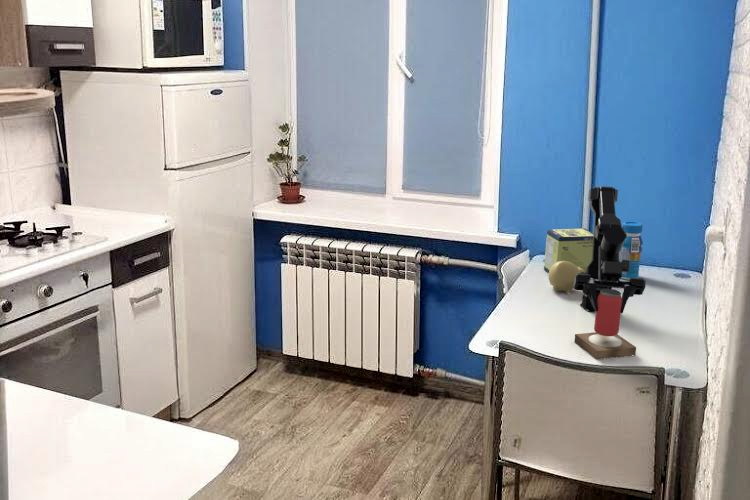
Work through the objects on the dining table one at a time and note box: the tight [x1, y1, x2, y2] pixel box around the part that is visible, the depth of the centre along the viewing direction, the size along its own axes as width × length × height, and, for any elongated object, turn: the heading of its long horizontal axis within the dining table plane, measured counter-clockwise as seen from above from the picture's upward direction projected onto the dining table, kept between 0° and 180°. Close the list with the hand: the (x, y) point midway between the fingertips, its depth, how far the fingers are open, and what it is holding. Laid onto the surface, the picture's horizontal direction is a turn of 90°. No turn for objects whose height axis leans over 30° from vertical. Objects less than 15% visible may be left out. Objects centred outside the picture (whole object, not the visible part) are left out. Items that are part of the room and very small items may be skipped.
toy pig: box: [547, 261, 584, 294], centre depth 260 cm, size 10×12×11 cm
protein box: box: [543, 228, 593, 274], centre depth 278 cm, size 10×16×16 cm
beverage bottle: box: [620, 220, 644, 281], centre depth 275 cm, size 8×8×20 cm
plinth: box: [573, 331, 637, 360], centre depth 214 cm, size 12×12×3 cm
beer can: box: [593, 288, 622, 336], centre depth 211 cm, size 7×7×12 cm
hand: (609, 311), depth 210 cm, fingers closed on beer can, 6 cm apart
